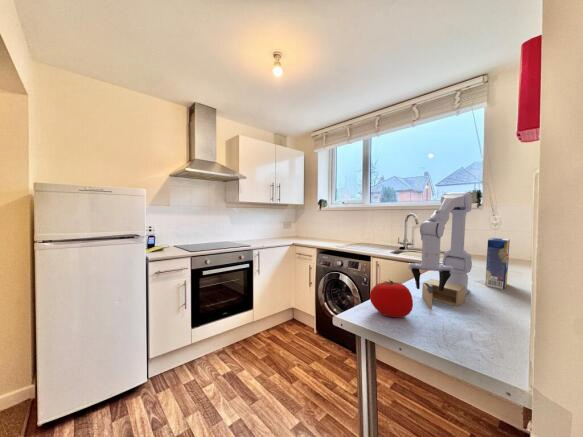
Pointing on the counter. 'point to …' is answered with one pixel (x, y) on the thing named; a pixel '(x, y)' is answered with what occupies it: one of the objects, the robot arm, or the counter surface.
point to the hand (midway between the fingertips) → (429, 289)
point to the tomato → (392, 299)
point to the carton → (447, 292)
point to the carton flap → (427, 294)
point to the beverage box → (497, 262)
